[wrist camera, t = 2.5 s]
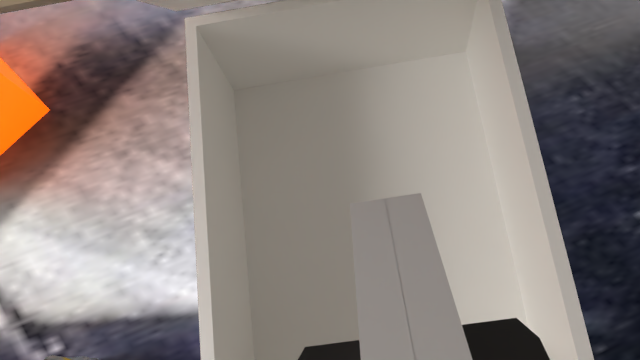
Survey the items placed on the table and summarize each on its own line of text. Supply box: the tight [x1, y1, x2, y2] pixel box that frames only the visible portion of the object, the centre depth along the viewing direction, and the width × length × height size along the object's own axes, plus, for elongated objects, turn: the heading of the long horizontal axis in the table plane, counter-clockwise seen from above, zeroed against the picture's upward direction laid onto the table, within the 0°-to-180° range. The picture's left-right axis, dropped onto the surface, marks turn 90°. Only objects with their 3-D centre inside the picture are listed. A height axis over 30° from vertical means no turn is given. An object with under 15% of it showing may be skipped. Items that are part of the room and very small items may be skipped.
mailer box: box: [184, 0, 594, 360], centre depth 30 cm, size 20×16×8 cm
